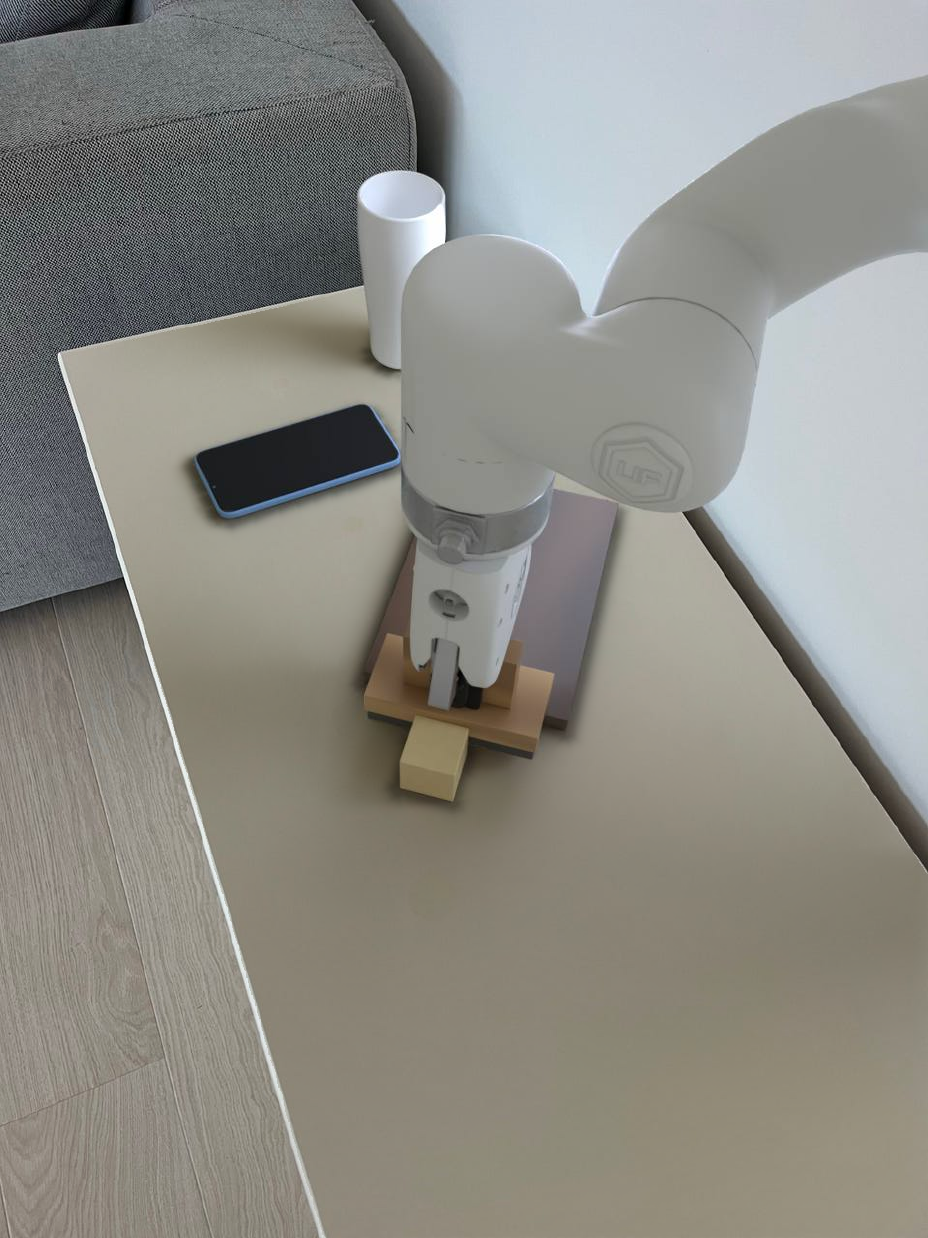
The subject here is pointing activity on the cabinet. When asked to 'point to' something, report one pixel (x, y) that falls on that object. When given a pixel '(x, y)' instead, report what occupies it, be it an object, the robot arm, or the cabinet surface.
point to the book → (542, 596)
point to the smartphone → (296, 460)
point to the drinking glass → (395, 248)
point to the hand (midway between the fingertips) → (460, 683)
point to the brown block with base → (496, 725)
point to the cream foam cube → (433, 757)
